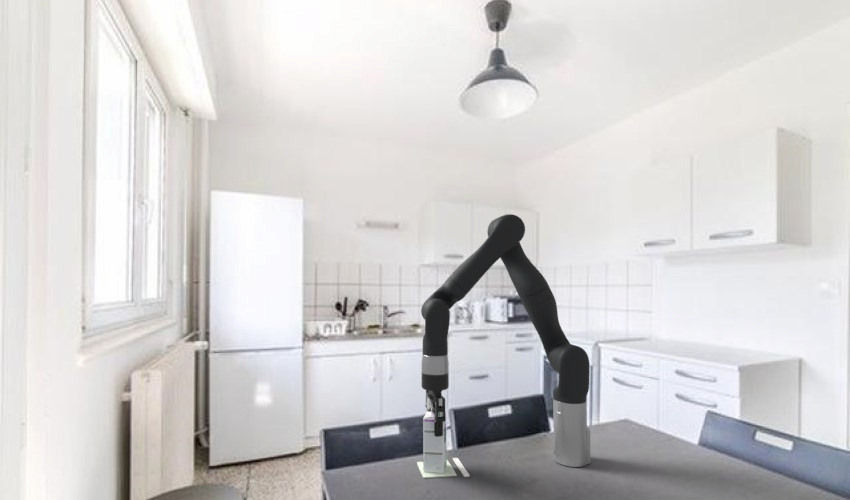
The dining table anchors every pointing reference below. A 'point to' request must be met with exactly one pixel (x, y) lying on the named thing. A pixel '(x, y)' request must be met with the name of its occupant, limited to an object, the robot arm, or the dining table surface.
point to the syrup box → (433, 446)
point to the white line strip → (461, 467)
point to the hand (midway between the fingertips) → (435, 430)
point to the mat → (447, 473)
